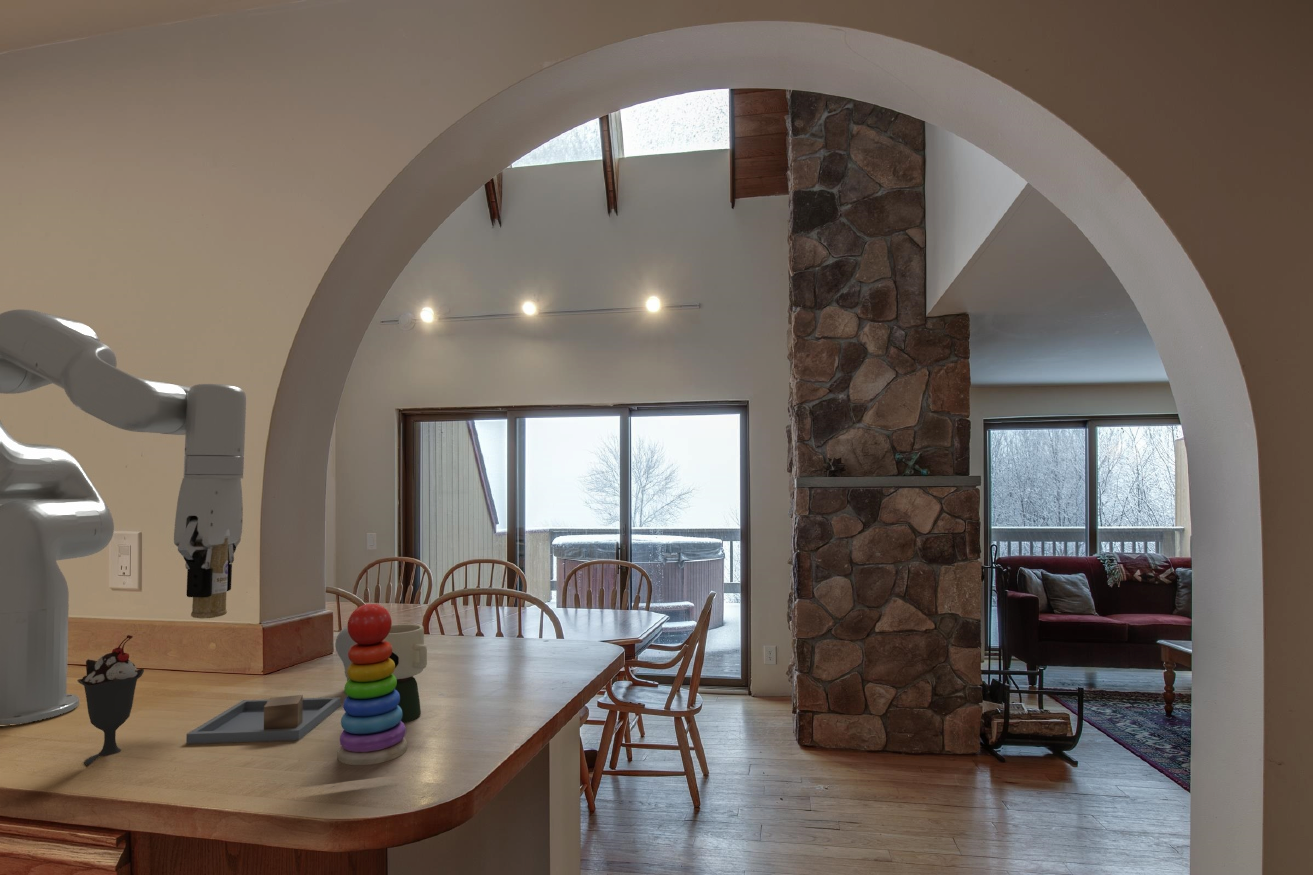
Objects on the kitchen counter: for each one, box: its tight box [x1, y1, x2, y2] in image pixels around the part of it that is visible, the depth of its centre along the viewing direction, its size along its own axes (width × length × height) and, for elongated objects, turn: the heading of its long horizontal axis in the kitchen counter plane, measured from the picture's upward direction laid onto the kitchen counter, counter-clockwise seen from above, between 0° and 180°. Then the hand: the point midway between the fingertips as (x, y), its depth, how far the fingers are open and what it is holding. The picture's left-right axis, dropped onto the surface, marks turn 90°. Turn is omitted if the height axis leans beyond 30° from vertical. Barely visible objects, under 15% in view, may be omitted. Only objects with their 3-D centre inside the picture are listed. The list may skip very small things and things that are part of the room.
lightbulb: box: [334, 626, 357, 682], centre depth 116 cm, size 6×6×11 cm
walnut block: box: [264, 694, 304, 729], centre depth 97 cm, size 4×4×4 cm
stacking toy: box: [337, 603, 408, 766], centre depth 89 cm, size 8×8×19 cm
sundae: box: [77, 634, 145, 767], centre depth 91 cm, size 7×7×15 cm
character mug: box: [383, 623, 428, 724], centre depth 102 cm, size 11×7×13 cm, turn 62°
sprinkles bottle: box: [190, 529, 230, 619], centre depth 106 cm, size 5×5×13 cm
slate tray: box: [185, 696, 342, 745], centre depth 100 cm, size 14×14×2 cm
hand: (209, 592), depth 106 cm, fingers closed on sprinkles bottle, 4 cm apart
